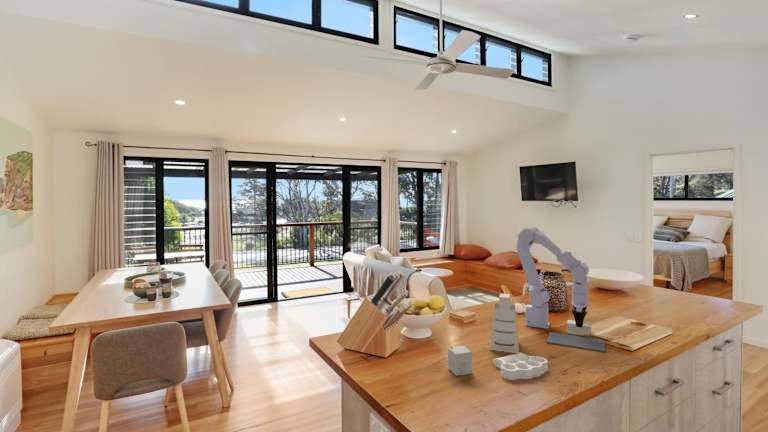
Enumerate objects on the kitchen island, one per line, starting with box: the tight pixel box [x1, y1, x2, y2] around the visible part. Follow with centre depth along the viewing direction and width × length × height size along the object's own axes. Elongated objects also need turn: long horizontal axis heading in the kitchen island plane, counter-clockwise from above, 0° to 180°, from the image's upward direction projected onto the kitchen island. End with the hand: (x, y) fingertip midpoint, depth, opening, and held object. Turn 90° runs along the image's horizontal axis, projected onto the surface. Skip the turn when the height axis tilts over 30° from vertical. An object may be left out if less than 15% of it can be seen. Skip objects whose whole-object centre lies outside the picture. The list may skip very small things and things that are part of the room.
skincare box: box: [447, 345, 473, 377], centre depth 128 cm, size 6×6×7 cm
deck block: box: [566, 319, 592, 337], centre depth 162 cm, size 9×5×4 cm, turn 61°
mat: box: [546, 331, 606, 353], centre depth 152 cm, size 20×12×1 cm, turn 61°
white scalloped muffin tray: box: [492, 352, 549, 381], centre depth 128 cm, size 3×18×15 cm
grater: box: [489, 293, 520, 354], centre depth 148 cm, size 10×10×20 cm
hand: (579, 324), depth 162 cm, fingers open, 7 cm apart
